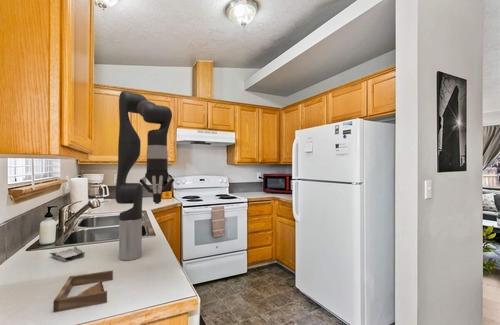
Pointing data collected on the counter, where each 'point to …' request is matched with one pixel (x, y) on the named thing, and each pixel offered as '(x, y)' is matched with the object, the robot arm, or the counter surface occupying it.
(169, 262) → the counter surface
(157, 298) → the counter surface
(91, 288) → the shard
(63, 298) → the wooden c-shaped bracket
